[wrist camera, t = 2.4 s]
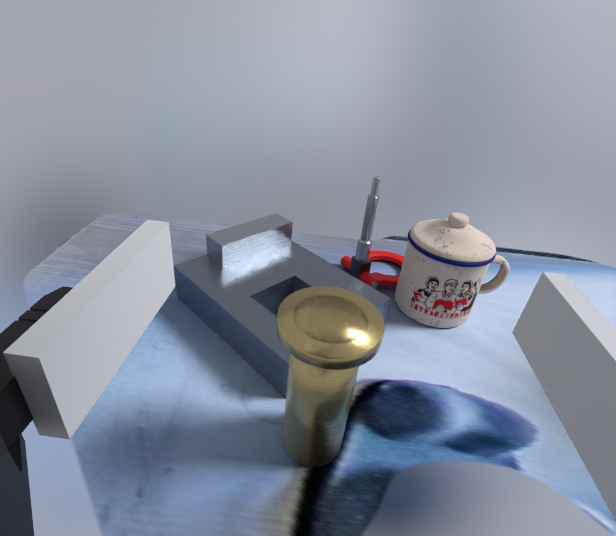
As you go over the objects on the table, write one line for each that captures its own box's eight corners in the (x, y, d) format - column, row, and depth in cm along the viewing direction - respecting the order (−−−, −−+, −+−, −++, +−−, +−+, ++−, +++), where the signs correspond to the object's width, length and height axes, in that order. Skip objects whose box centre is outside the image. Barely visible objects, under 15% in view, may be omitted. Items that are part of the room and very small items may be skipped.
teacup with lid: (400, 328, 41) (428, 232, 35) (385, 281, 49) (406, 195, 43) (508, 335, 42) (554, 242, 36) (476, 287, 50) (509, 204, 43)
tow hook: (389, 254, 56) (335, 263, 51) (409, 165, 49) (350, 167, 45) (430, 282, 49) (372, 295, 45) (459, 185, 43) (395, 189, 39)
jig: (383, 328, 41) (396, 277, 37) (286, 398, 32) (291, 341, 29) (273, 257, 51) (276, 213, 48) (177, 296, 42) (171, 245, 39)
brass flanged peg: (370, 441, 29) (405, 322, 23) (312, 500, 25) (335, 375, 19) (311, 390, 33) (327, 275, 27) (252, 434, 29) (255, 311, 23)
